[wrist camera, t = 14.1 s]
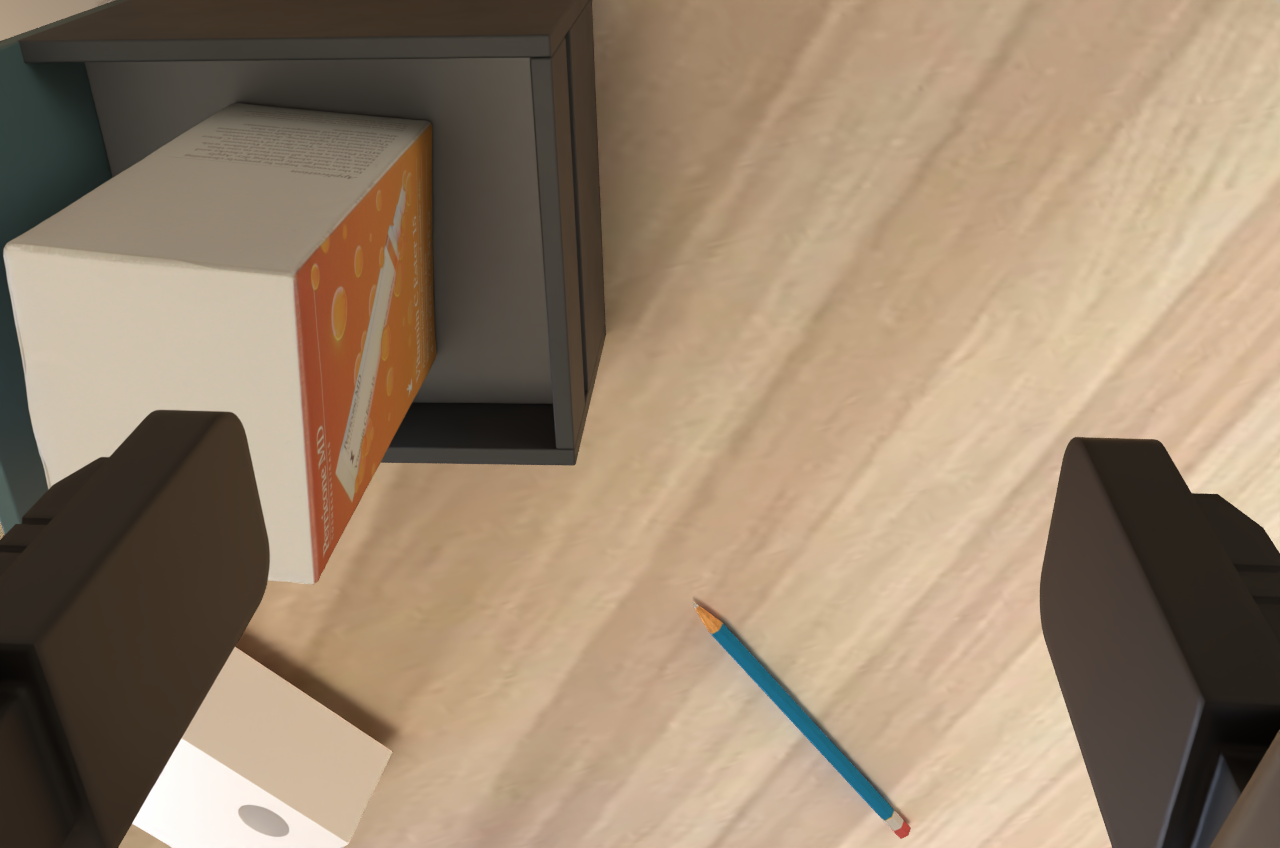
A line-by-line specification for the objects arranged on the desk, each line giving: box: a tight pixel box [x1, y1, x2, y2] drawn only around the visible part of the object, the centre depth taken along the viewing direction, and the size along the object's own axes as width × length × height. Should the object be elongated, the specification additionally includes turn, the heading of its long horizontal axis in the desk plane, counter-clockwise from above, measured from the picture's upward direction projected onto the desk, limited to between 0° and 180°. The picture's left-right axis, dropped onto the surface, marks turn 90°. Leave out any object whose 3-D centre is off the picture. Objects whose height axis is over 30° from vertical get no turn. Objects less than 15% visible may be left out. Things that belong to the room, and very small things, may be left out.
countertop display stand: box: [0, 0, 606, 535], centre depth 36 cm, size 15×13×16 cm
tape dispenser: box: [132, 647, 393, 848], centre depth 52 cm, size 18×10×10 cm, turn 48°
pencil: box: [692, 602, 911, 839], centre depth 54 cm, size 1×17×1 cm, turn 38°
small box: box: [3, 103, 437, 584], centre depth 31 cm, size 8×6×13 cm
